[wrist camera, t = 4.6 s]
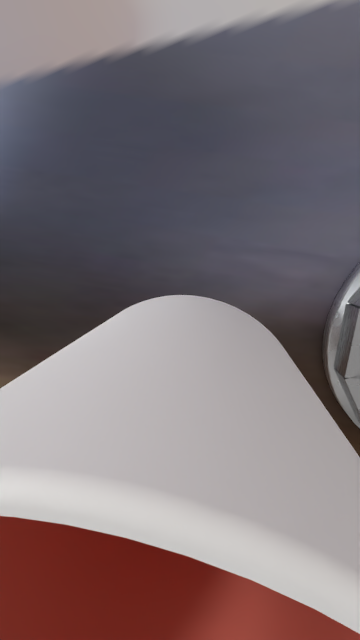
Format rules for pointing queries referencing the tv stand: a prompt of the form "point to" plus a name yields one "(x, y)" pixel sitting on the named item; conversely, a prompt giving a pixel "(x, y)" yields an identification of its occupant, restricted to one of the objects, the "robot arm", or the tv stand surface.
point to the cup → (175, 487)
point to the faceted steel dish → (344, 346)
